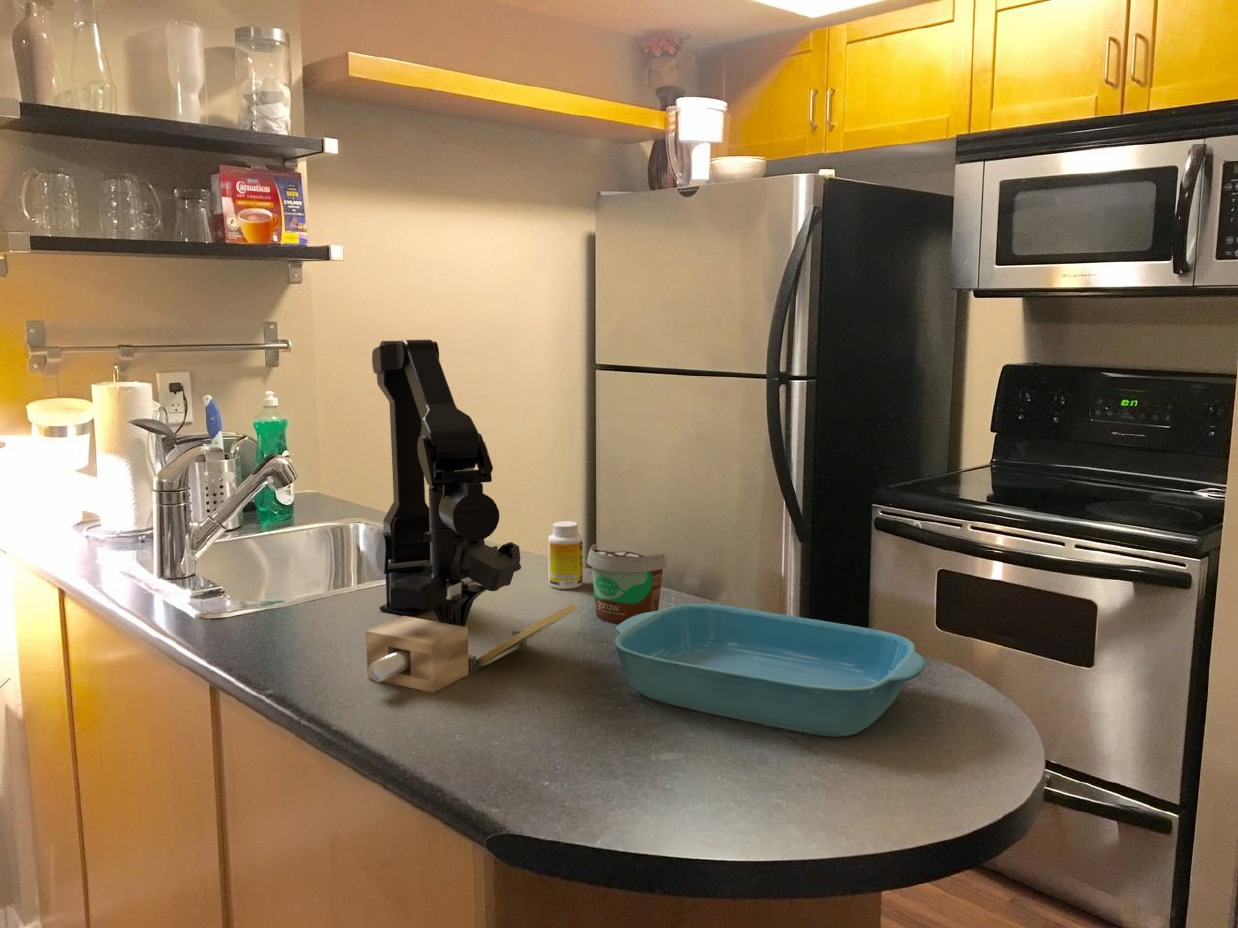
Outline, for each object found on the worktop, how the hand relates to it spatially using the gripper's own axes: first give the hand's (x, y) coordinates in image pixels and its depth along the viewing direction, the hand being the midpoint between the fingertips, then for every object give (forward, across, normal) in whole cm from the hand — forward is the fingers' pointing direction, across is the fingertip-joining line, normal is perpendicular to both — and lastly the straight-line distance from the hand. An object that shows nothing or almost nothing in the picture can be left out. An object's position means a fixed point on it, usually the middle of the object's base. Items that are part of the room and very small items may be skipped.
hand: (455, 642), depth 136 cm
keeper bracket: (+2, +2, -4) cm, 5 cm away
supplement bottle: (+2, +36, +5) cm, 37 cm away
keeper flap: (-1, +2, -9) cm, 10 cm away
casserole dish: (+2, +7, -39) cm, 40 cm away
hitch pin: (+1, -9, 0) cm, 9 cm away
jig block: (+2, -8, 0) cm, 8 cm away
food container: (+2, +24, -11) cm, 27 cm away
